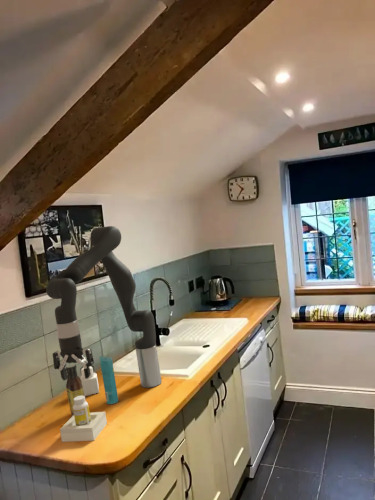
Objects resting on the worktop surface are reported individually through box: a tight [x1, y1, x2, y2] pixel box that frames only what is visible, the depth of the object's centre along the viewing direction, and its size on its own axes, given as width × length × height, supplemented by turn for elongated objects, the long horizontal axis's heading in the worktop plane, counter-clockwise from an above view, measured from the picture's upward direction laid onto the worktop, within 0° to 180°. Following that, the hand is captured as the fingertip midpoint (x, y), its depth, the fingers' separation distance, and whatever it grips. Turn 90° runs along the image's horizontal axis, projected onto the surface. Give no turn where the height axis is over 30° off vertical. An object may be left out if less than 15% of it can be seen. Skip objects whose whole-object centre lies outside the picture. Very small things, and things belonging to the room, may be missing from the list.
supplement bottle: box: [73, 396, 91, 426], centre depth 155 cm, size 5×5×10 cm
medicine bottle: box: [79, 364, 100, 397], centre depth 194 cm, size 7×7×12 cm
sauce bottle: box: [65, 363, 84, 416], centre depth 173 cm, size 6×6×20 cm
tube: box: [99, 356, 119, 405], centre depth 179 cm, size 7×5×19 cm, turn 60°
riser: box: [59, 411, 108, 443], centre depth 156 cm, size 12×12×4 cm
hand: (76, 378), depth 154 cm, fingers open, 8 cm apart
